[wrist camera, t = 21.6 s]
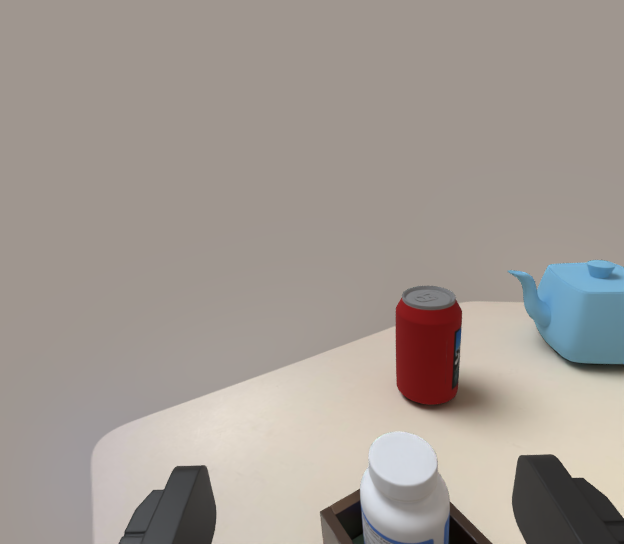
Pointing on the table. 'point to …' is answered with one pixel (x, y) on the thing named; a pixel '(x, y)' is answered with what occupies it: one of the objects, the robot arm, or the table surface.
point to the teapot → (579, 310)
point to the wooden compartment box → (349, 529)
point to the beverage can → (428, 344)
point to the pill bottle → (404, 493)
